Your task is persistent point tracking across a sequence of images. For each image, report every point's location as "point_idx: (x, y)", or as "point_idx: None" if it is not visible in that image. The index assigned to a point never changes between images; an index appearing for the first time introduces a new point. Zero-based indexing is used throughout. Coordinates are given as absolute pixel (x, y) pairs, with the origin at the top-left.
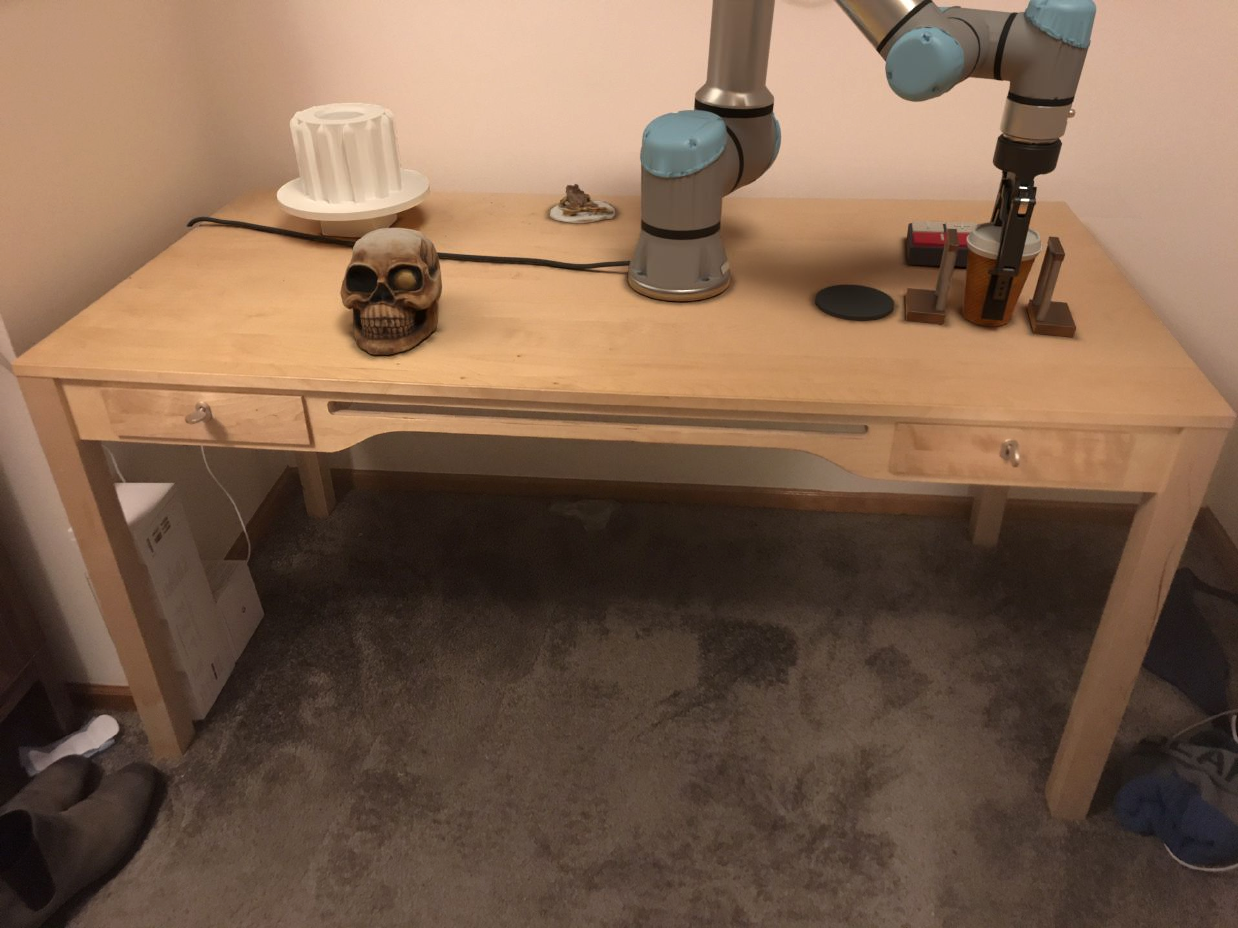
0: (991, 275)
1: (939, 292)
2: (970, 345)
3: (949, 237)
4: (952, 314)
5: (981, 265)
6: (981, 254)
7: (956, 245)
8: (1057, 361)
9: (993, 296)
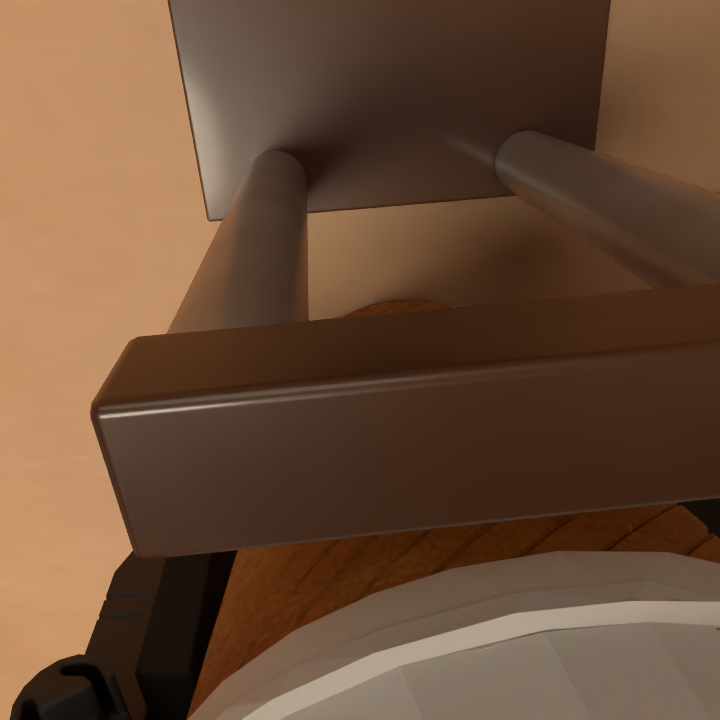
0: (157, 645)
1: (254, 175)
2: (17, 353)
3: (559, 372)
4: (384, 248)
5: (237, 611)
6: (205, 717)
7: (131, 518)
8: (58, 646)
9: (129, 564)
